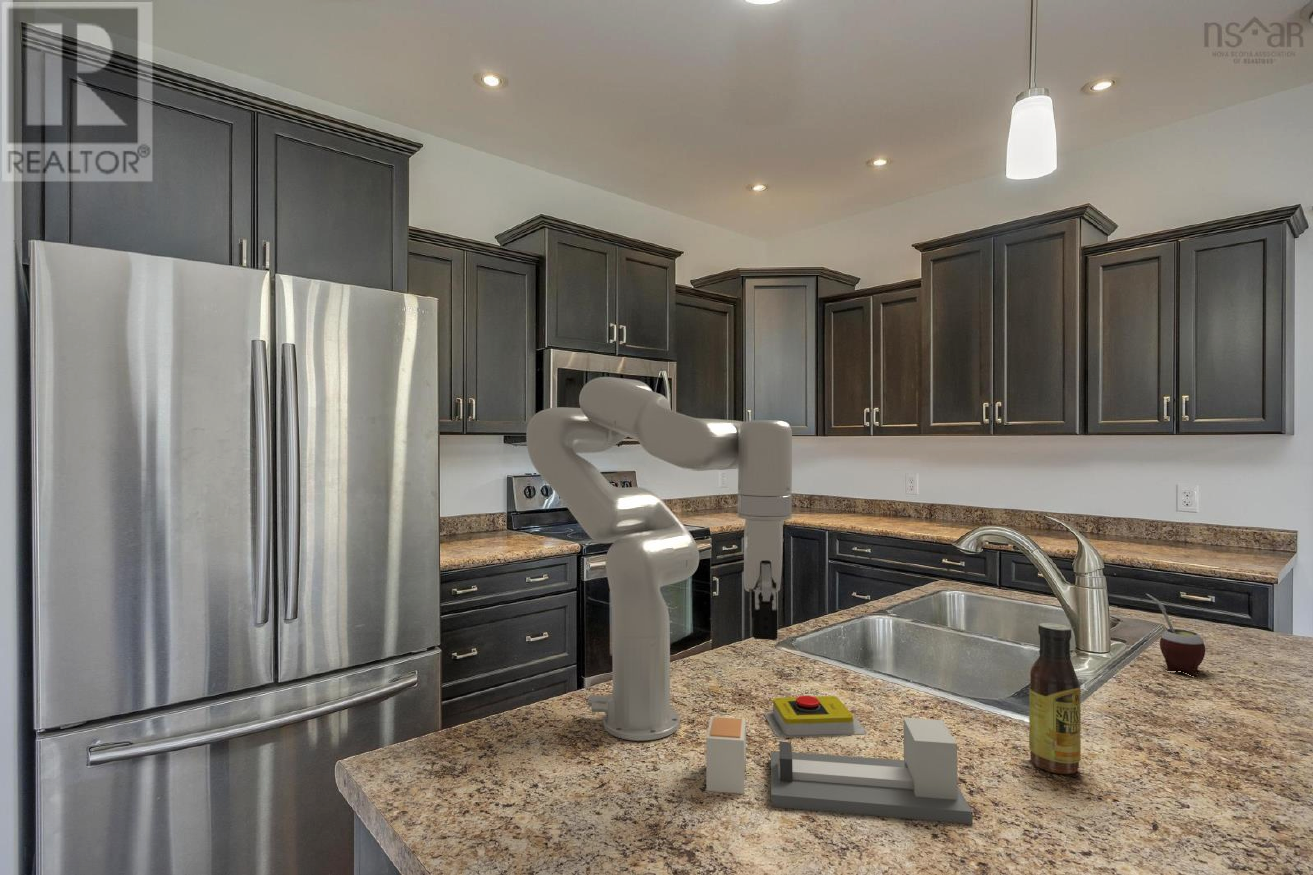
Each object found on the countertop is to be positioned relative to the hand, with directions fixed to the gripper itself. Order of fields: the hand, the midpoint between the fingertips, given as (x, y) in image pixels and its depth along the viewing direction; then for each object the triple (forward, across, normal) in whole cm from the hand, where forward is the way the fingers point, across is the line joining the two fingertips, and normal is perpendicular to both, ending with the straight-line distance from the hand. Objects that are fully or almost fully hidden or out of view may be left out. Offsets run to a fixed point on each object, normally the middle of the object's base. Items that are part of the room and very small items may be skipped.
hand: (763, 628), depth 91 cm
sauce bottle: (+20, -6, +42) cm, 46 cm away
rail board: (+20, +4, +13) cm, 24 cm away
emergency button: (+21, -17, +9) cm, 28 cm away
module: (+20, +3, -5) cm, 21 cm away
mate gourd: (+20, -49, +84) cm, 100 cm away
